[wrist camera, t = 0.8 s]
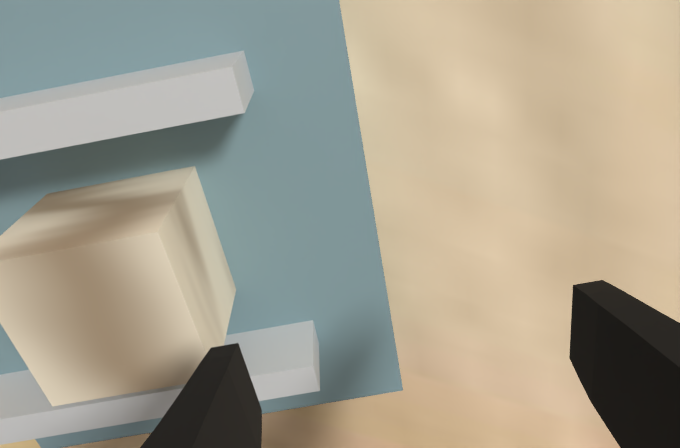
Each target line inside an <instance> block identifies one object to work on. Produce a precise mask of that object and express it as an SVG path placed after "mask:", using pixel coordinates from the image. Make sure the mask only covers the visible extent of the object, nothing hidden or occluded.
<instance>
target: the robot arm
mask: <svg viewBox="0 0 680 448" xmlns="http://www.w3.org/2000/svg"><path fill="white" fill-rule="evenodd" d="M570 360H571V362H572V364H573V366H574V368H575V371H576V373H577V375H578V377H579V379H580V381H581V383H582V385H583V387H584V389H585V391H586V393H587V395H588V397H589V399H590V401H591V403H592V404H593V406H594V407H595V409H596V411H597V412H598V414H599V415H600V417H601V418H602V420H603V421H604V423H605V424H606V426H607V428H608V429H609V431H610V432H611V434H612V435H613V437H614V438H615V440H616V441H617V443H618V444H619V446H620V447H621V448H680V323H679V322H677V321H675V320H673V319H671V318H670V317H668V316H666V315H664V314H662V313H661V312H659V311H657V310H655V309H654V308H652V307H650V306H648V305H647V304H645V303H643V302H641V301H640V300H638V299H636V298H634V297H633V296H631V295H629V294H627V293H625V292H624V291H622V290H620V289H618V288H616V287H615V286H613V285H611V284H609V283H607V282H605V281H603V280H600V281H594V282H588V283H583V284H577V285H573V299H572V319H571V340H570ZM261 433H262V409H261V406H260V403H259V400H258V398H257V395H256V392H255V389H254V386H253V383H252V381H251V378H250V375H249V372H248V369H247V366H246V364H245V361H244V358H243V355H242V352H241V349H240V346H239V344H238V343H235V344H229V345H223V346H218V347H212V348H210V350H209V351H208V352H207V354H206V355H205V357H204V358H203V359H202V361H201V362H200V364H199V365H198V367H197V368H196V370H195V371H194V373H193V374H192V376H191V377H190V379H189V380H188V382H187V383H186V385H185V386H184V388H183V389H182V391H181V392H180V393H179V395H178V396H177V398H176V399H175V401H174V402H173V404H172V405H171V406H170V408H169V409H168V411H167V412H166V414H165V415H164V416H163V418H162V419H161V421H160V422H159V423H158V425H157V426H156V428H155V429H154V430H153V432H152V433H151V434H150V436H149V437H148V439H147V440H146V441H145V442H144V444H143V445H142V446H141V448H261Z"/></svg>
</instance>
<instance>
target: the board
mask: <svg viewBox="0 0 680 448" xmlns="http://www.w3.org/2000/svg"><path fill="white" fill-rule="evenodd" d="M192 166H195V168H196V171H197V174H198V177H199V180H200V183H201V186H202V189H203V192H204V195H205V198H206V201H207V204H208V207H209V210H210V213H211V216H212V219H213V222H214V225H215V228H216V231H217V234H218V237H219V240H220V243H221V246H222V249H223V252H224V255H225V258H226V261H227V264H228V267H229V270H230V273H231V276H232V279H233V282H234V284H235V287H236V293H235V297H234V302H233V306H232V311H231V315H230V320H229V324H228V329H227V333H226V338H225V342H224V345H229V344H235V343H238V344H239V346H240V349H241V352H242V355H243V358H244V361H245V364H246V366H247V369H248V372H249V375H250V378H251V381H252V383H253V386H254V389H255V392H256V395H257V398H258V400H259V403H260V406H261V409H262V414H264V413H270V412H276V411H282V410H288V409H294V408H300V407H306V406H312V405H318V404H324V403H330V402H336V401H342V400H348V399H354V398H360V397H365V396H371V395H377V394H383V393H389V392H395V391H401V390H403V388H402V381H401V375H400V369H399V363H398V357H397V351H396V345H395V339H394V333H393V327H392V321H391V314H390V308H389V302H388V296H387V290H386V284H385V278H384V272H383V266H382V260H381V254H380V247H379V241H378V235H377V229H376V223H375V217H374V211H373V205H372V199H371V193H370V187H369V180H368V174H367V168H366V162H365V156H364V150H363V144H362V138H361V132H360V126H359V120H358V113H357V107H356V101H355V95H354V89H353V83H352V77H351V71H350V65H349V59H348V53H347V46H346V40H345V34H344V28H343V22H342V16H341V10H340V4H339V0H0V236H1V235H2V234H3V233H4V232H5V231H6V230H7V229H8V228H10V227H11V226H12V225H13V224H14V223H15V222H16V221H17V220H18V219H20V218H21V217H22V216H23V215H24V214H25V213H26V212H27V211H28V210H30V209H31V208H32V207H33V206H34V205H35V204H36V203H37V202H38V201H40V200H41V199H42V198H43V197H44V196H45V195H46V194H48V193H53V192H58V191H64V190H69V189H74V188H80V187H85V186H90V185H96V184H101V183H106V182H112V181H117V180H122V179H128V178H133V177H138V176H144V175H149V174H154V173H160V172H165V171H170V170H176V169H181V168H186V167H192ZM185 385H186V384H181V385H175V386H169V387H163V388H158V389H152V390H146V391H140V392H134V393H128V394H123V395H117V396H111V397H105V398H99V399H93V400H88V401H82V402H76V403H70V404H64V405H58V406H52V405H51V403H50V402H49V400H48V399H47V397H46V395H45V394H44V392H43V391H42V389H41V387H40V386H39V384H38V383H37V381H36V379H35V378H34V376H33V375H32V373H31V372H30V370H29V368H28V367H27V365H26V364H25V362H24V360H23V359H22V357H21V356H20V354H19V352H18V351H17V349H16V348H15V346H14V344H13V343H12V341H11V340H10V338H9V336H8V335H7V333H6V332H5V330H4V328H3V327H2V325H1V324H0V448H62V447H68V446H74V445H80V444H86V443H92V442H97V441H103V440H109V439H115V438H121V437H127V436H133V435H139V434H145V433H151V432H153V430H154V429H155V428H156V426H157V425H158V423H159V422H160V421H161V419H162V418H163V416H164V415H165V414H166V412H167V411H168V409H169V408H170V406H171V405H172V404H173V402H174V401H175V399H176V398H177V396H178V395H179V393H180V392H181V391H182V389H183V388H184V386H185Z"/></svg>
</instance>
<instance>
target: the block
mask: <svg viewBox="0 0 680 448" xmlns="http://www.w3.org/2000/svg"><path fill="white" fill-rule="evenodd" d="M235 293H236V287H235V284H234V282H233V279H232V276H231V273H230V270H229V267H228V264H227V261H226V258H225V255H224V252H223V249H222V246H221V243H220V240H219V237H218V234H217V231H216V228H215V225H214V222H213V219H212V216H211V213H210V210H209V207H208V204H207V201H206V198H205V195H204V192H203V189H202V186H201V183H200V180H199V177H198V174H197V171H196V168H195V166H192V167H186V168H181V169H176V170H170V171H165V172H160V173H154V174H149V175H144V176H138V177H133V178H128V179H122V180H117V181H112V182H106V183H101V184H96V185H90V186H85V187H80V188H74V189H69V190H64V191H58V192H53V193H48V194H46V195H45V196H44V197H43V198H42V199H41V200H40V201H38V202H37V203H36V204H35V205H34V206H33V207H32V208H31V209H30V210H28V211H27V212H26V213H25V214H24V215H23V216H22V217H21V218H20V219H18V220H17V221H16V222H15V223H14V224H13V225H12V226H11V227H10V228H8V229H7V230H6V231H5V232H4V233H3V234H2V235H1V236H0V324H1V325H2V327H3V328H4V330H5V332H6V333H7V335H8V336H9V338H10V340H11V341H12V343H13V344H14V346H15V348H16V349H17V351H18V352H19V354H20V356H21V357H22V359H23V360H24V362H25V364H26V365H27V367H28V368H29V370H30V372H31V373H32V375H33V376H34V378H35V379H36V381H37V383H38V384H39V386H40V387H41V389H42V391H43V392H44V394H45V395H46V397H47V399H48V400H49V402H50V403H51V405H52V406H58V405H64V404H70V403H76V402H82V401H88V400H93V399H99V398H105V397H111V396H117V395H123V394H128V393H134V392H140V391H146V390H152V389H158V388H163V387H169V386H175V385H181V384H186V383H187V382H188V380H189V379H190V377H191V376H192V374H193V373H194V371H195V370H196V368H197V367H198V365H199V364H200V362H201V361H202V359H203V358H204V357H205V355H206V354H207V352H208V351H209V350H210V348H212V347H218V346H223V345H224V342H225V338H226V333H227V329H228V324H229V320H230V315H231V311H232V306H233V302H234V297H235Z"/></svg>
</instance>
